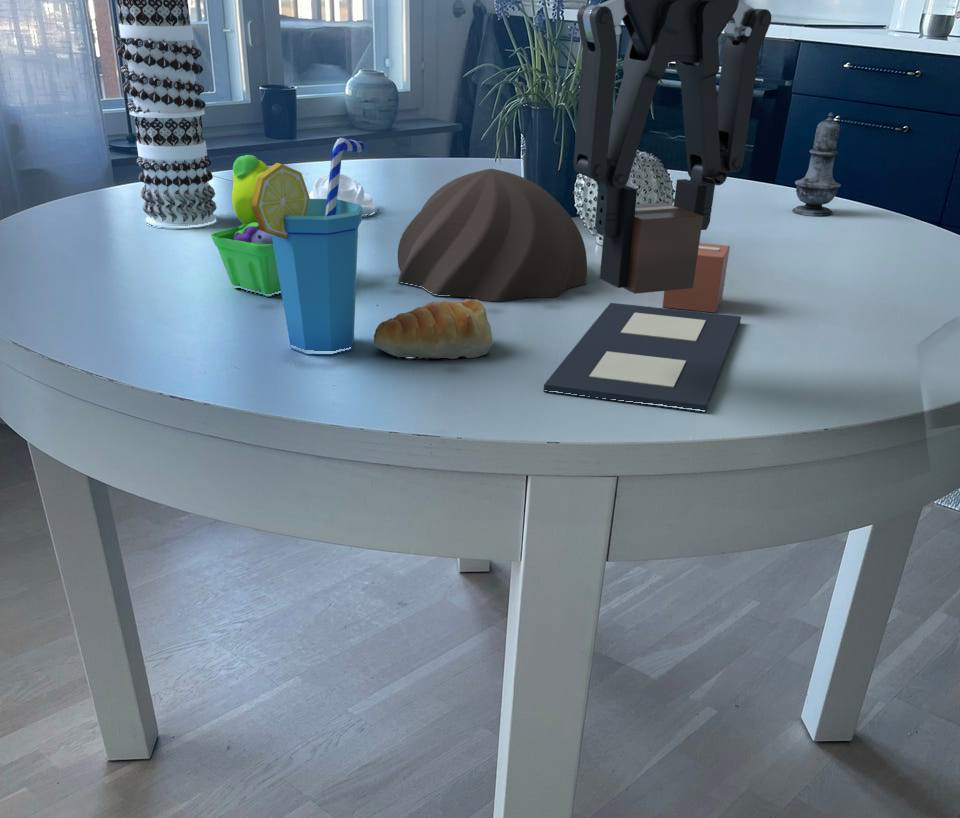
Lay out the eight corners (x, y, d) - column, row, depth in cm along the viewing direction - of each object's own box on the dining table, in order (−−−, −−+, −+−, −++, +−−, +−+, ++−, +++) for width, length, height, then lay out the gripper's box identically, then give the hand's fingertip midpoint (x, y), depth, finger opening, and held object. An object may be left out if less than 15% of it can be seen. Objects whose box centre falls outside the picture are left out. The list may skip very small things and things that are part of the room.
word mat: (705, 413, 72) (706, 403, 72) (543, 392, 75) (543, 383, 75) (740, 323, 92) (741, 315, 91) (609, 309, 95) (610, 301, 94)
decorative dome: (373, 259, 109) (369, 157, 103) (544, 249, 115) (549, 152, 109) (424, 307, 94) (423, 190, 88) (618, 292, 99) (629, 182, 94)
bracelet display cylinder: (126, 225, 120) (85, -27, 107) (169, 211, 128) (137, -26, 114) (193, 232, 118) (161, -24, 104) (234, 217, 125) (208, -24, 112)
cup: (328, 315, 91) (317, 129, 83) (406, 326, 89) (403, 136, 80) (241, 360, 80) (218, 151, 72) (327, 374, 78) (313, 160, 70)
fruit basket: (267, 303, 94) (255, 170, 88) (204, 286, 98) (188, 158, 92) (352, 279, 102) (346, 156, 95) (290, 265, 106) (281, 146, 100)
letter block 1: (693, 288, 74) (704, 213, 71) (634, 294, 72) (642, 217, 69) (657, 272, 78) (665, 200, 75) (600, 277, 76) (606, 203, 73)
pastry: (387, 368, 79) (386, 318, 77) (364, 343, 84) (362, 296, 82) (498, 356, 82) (500, 308, 80) (469, 333, 87) (469, 288, 85)
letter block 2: (721, 299, 98) (730, 243, 95) (715, 313, 94) (724, 255, 91) (670, 294, 99) (677, 239, 97) (662, 307, 95) (668, 250, 93)
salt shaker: (822, 218, 133) (842, 115, 126) (781, 211, 136) (799, 111, 129) (842, 212, 136) (863, 112, 130) (803, 206, 139) (820, 108, 133)
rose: (331, 165, 133) (392, 172, 129) (333, 201, 135) (393, 210, 131) (282, 175, 126) (345, 183, 122) (285, 213, 128) (347, 223, 124)
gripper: (773, -103, 68) (719, 259, 81) (531, -118, 62) (514, 277, 74) (848, -108, 62) (778, 282, 75) (590, -126, 56) (561, 303, 69)
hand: (647, 279), depth 75 cm, fingers closed on letter block 1, 5 cm apart
